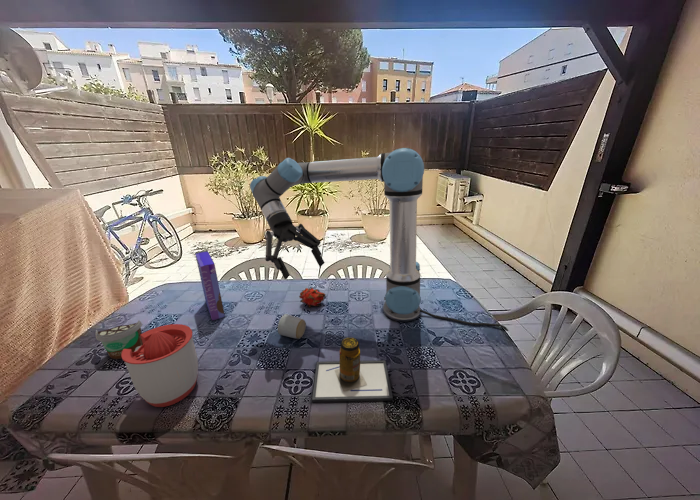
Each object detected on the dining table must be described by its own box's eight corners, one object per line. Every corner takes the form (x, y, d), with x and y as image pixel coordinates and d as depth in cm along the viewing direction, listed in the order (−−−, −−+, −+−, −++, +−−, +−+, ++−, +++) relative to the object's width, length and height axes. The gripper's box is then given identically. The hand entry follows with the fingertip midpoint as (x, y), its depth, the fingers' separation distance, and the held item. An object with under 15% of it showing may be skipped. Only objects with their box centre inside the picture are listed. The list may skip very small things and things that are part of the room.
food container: (98, 366, 86) (87, 341, 82) (104, 354, 91) (94, 329, 87) (145, 354, 91) (137, 329, 88) (148, 343, 96) (140, 319, 93)
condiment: (356, 364, 85) (356, 333, 81) (367, 385, 78) (367, 351, 74) (334, 370, 83) (333, 338, 79) (343, 392, 76) (342, 358, 72)
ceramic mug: (298, 343, 96) (296, 325, 93) (277, 339, 98) (276, 321, 95) (311, 326, 105) (310, 309, 102) (292, 322, 107) (291, 305, 105)
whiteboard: (385, 362, 87) (385, 360, 87) (392, 400, 74) (392, 397, 74) (316, 364, 87) (316, 361, 86) (312, 402, 73) (311, 399, 73)
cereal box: (224, 317, 111) (214, 263, 103) (212, 320, 109) (200, 266, 100) (217, 298, 125) (207, 250, 116) (205, 302, 122) (194, 252, 114)
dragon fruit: (298, 306, 121) (324, 309, 122) (296, 305, 113) (325, 308, 114) (300, 287, 124) (327, 290, 125) (299, 285, 115) (327, 288, 116)
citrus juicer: (159, 368, 85) (142, 314, 78) (214, 369, 84) (201, 315, 77) (118, 414, 70) (92, 352, 63) (183, 416, 70) (164, 353, 63)
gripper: (303, 217, 103) (330, 265, 98) (239, 230, 87) (267, 288, 82) (311, 205, 98) (339, 255, 93) (244, 217, 82) (274, 277, 77)
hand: (305, 270), depth 87 cm, fingers open, 13 cm apart
